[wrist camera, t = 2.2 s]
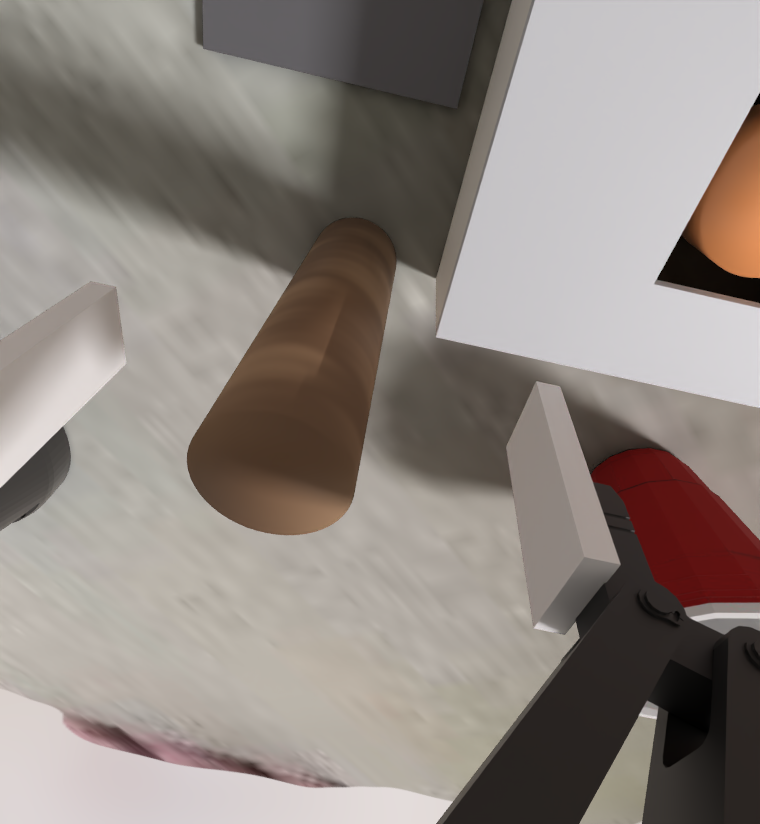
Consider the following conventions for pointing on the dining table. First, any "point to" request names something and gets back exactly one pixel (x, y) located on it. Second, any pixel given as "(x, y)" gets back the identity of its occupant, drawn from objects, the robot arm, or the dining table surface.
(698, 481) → the plastic cup
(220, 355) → the dining table surface
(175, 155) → the dining table surface
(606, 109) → the box
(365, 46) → the pad
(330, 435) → the wooden rod
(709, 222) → the orange dome button
